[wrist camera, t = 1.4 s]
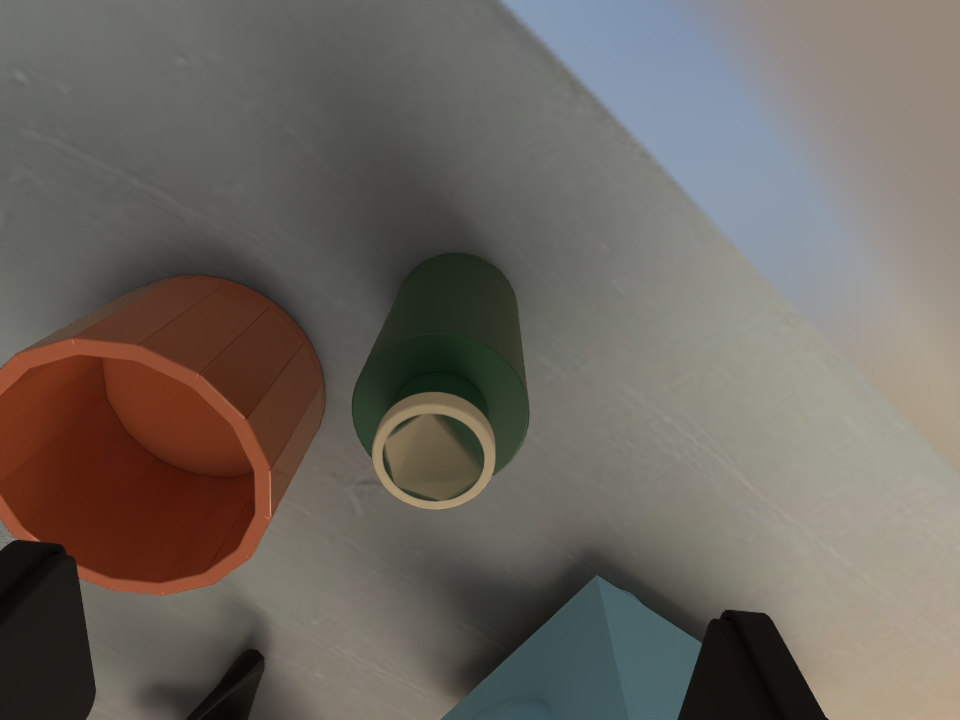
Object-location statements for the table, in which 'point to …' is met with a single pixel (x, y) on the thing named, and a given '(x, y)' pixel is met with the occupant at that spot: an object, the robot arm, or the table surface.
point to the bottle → (444, 384)
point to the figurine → (233, 690)
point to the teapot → (591, 665)
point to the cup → (158, 432)
